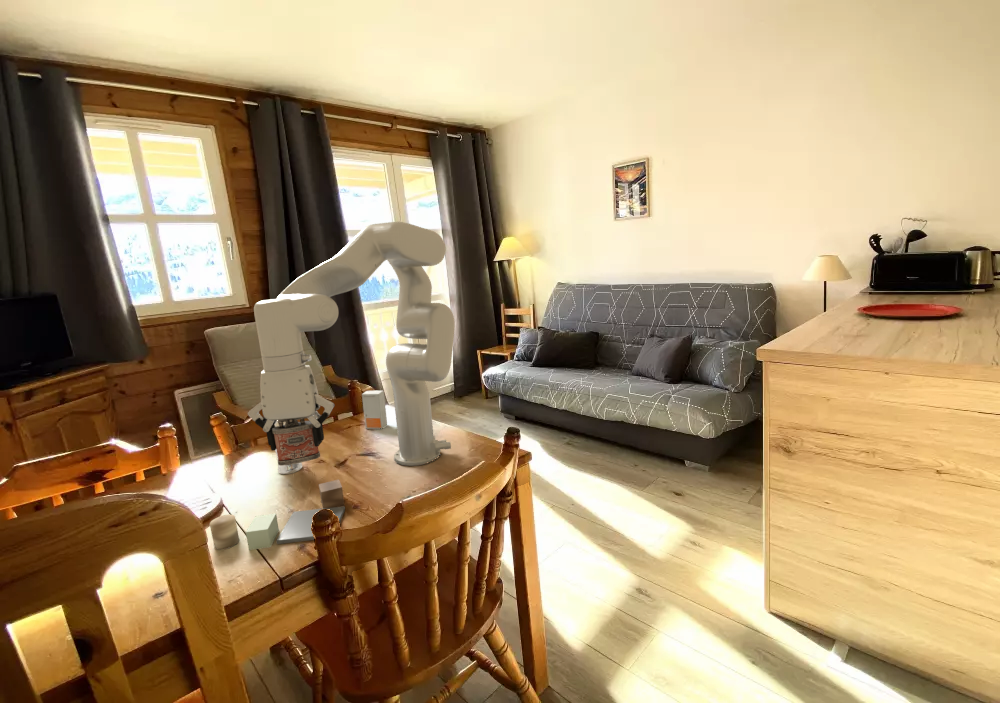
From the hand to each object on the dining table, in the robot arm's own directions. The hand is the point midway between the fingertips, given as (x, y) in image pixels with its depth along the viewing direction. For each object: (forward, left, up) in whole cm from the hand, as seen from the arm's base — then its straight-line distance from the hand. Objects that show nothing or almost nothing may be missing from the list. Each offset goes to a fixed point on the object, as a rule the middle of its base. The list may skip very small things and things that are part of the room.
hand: (297, 445), depth 99 cm
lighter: (0, 0, -3) cm, 3 cm away
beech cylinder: (+15, +4, -18) cm, 23 cm away
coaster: (-1, +1, -18) cm, 18 cm away
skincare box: (-6, -58, -18) cm, 61 cm away
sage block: (+6, +4, -16) cm, 17 cm away
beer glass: (+13, -30, -18) cm, 37 cm away
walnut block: (-3, -8, -18) cm, 20 cm away
